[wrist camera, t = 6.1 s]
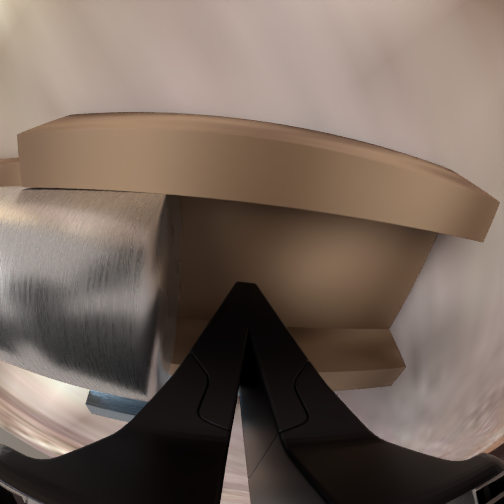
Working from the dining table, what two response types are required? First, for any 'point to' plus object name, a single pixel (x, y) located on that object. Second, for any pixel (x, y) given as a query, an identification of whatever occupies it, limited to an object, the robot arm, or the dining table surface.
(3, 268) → the silver metal tumbler
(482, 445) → the dining table surface
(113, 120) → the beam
